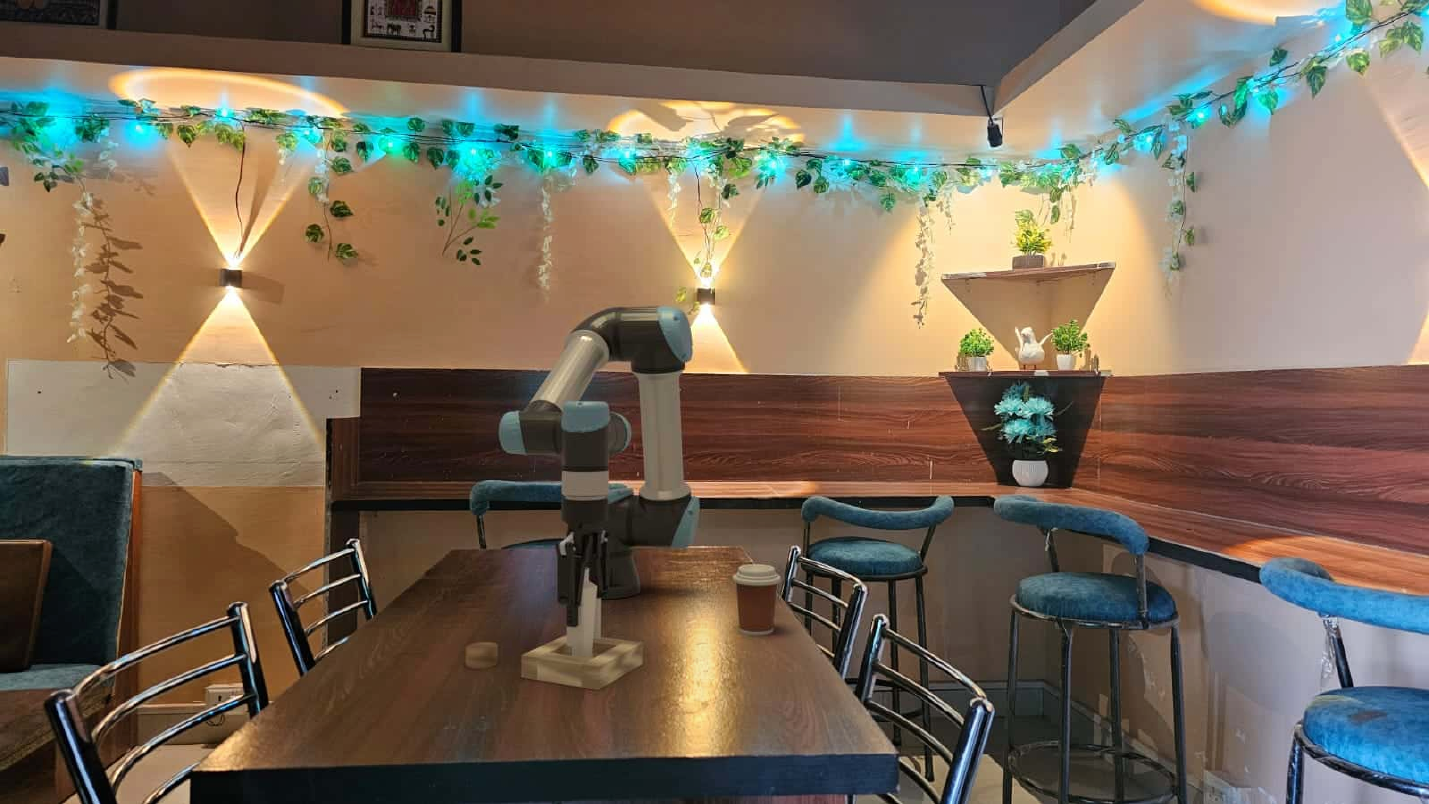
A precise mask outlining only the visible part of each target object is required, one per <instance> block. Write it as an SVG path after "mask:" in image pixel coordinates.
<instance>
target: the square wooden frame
mask: <svg viewBox="0 0 1429 804" xmlns="http://www.w3.org/2000/svg"><path fill="white" fill-rule="evenodd" d="M643 648H644V643H643V642H641V641H633V640H625V639H619V638H618V639H617V638H612V637H604V636H601V638H600V639H593V646H592V655H593V659H590V658H583V657H576V656H572V647H571V646H567V634H565V635H562V636H561V637H559V638H557V639H556V638H555V640H551V641H550V642H547V643H545V644H543V645H541V646H539V647H537V648H534V649H532V650H530V651H527V652H525V653H523V654H521V656H520V657H521V662H520V663H521V665H520V667H521V668H520V669H521V670H520V674H521V675H520V677H521V679H528V680H533V681H540V682H547V683H552V684H557V685H558V684H559V685H564V686H565V685H566V686H571V687H575V688H577V687H578V688H583V689H590V690H596V691H599V690H601V689H603V688H605V687H606V686H608V685H610V684H612V683H613V682H615V681H617V680H619V678H622V677H623V676H625V675H626V674H628V673H630V672H632V671H633V670H635V669H637V668H638V667H640V666H642V665H643V662H644V657H643V656H644V651H643V650H644V649H643Z"/></svg>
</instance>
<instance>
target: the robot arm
mask: <svg viewBox="0 0 1429 804" xmlns="http://www.w3.org/2000/svg"><path fill="white" fill-rule="evenodd" d="M693 343H694V342H693V335H692V329H691V325H690V320H689V318H688V316H687V315H686V312H684V310H683V309H682V308H680V307H677V306H665V305H655V306H653V305H652V306H649V305H647V306H626V307H625V306H623V307H622V306H614V307H609V308H605V309H602V310H600V311H598V312H595V313H593V314H592V315H590V316H588V317H587V318H585V319H584V320H583V321H581V322H580V323H578V324H577V325H576V327H575V328H573V329H572V330H571V332H570V333H569V335H568V336H567V338H566V339H565V341H564V343H563V344H564V345H563V349H564V350H563V352H562V354H561V355H560V357H559V358H558V360H557V362H556V363H555V364H554V366H553V368H552V369H551V370H550V372H549V374H548V375H547V377H546V378H545V379H544V381H543V383H542V384H541V385H540V386H539V388H538V390H537V391H536V393H535V394H534V396H533V397H532V399H531V401H530V402H529V403H528V405H527V406H526V407H525V409H524V410H523V411H520V410H516V411H508V412H506V413H504V414H503V416H502V417H501V420H500V421H499V426H498V438H499V442H500V445H501V448H502V450H504V451H505V452H506V453H507V454H516V455H524V456H537V455H538V456H542V455H543V456H545V455H546V456H549V455H550V456H561V494H562V495H563V496H565V497H564V498H562V500H561V501H560V502H561V504H560V505H561V509H560V513H561V516H560V518H561V521H562V522H563V523H566V524H567V529H566V533H565V538H564V539H563V540H561V541H559V540H558V541H556V542H555V545H554V547H555V551H556V557H557V558H556V559H557V560H556V561H557V567H556V568H557V593H556V594H557V600H556V601H557V603H558V604H559V605H561V606H566V607H565V608H566V614H565V616H566V635H567V646H571V647H578V648H582V647H584V605H581V599H582V591H583V583H584V575H585V567H588V568H589V581H590V582H592V583H593V584H595V585H596V586H597V594H596V607H595V620H594V633H593V639H600V638H601V637H602V635H601V634H602V633H601V632H602V629H601V627H602V625H601V624H602V622H601V621H602V600H613V599H624V598H629V597H633V596H636V595H638V594H640V593H641V579H640V577H639V574H638V570H637V567H636V564H635V560H634V550H633V549H634V548H651V549H653V548H654V549H669V550H674V549H687V548H689V547H690V546H691V545H692V544H693V542H694V540H695V537H696V534H697V530H698V525H699V518H700V511H701V510H700V507H701V506H700V505H701V504H700V498H699V497H697V496H696V495H692V489H691V488H692V487H691V486H690V485H689V484H688V483H687V482H686V481H685V480H684V461H683V442H682V441H683V439H682V438H683V437H682V417H681V398H680V375H682V374H683V372H684V371H685V370H686V364H687V363H689V362H690V361H691V360H692V358H693V354H694V353H693V352H694V349H693V347H694V344H693ZM613 362H621V363H622V362H623V363H624V362H625V363H629V362H630V372H631V373H632V374H633V375H634V376H635V377H636V378H637V379H638V387H639V390H638V391H639V402H640V405H639V406H640V418H641V419H640V421H641V422H640V423H641V437H642V450H643V451H642V452H643V454H642V455H643V469H644V470H643V471H644V483H643V485H641V486H640V488H639V489H638V494H635V491H634V488H631V487H624V488H623V487H622V488H613V489H610V486H609V485H610V479H609V478H610V477H609V476H610V474H609V469H610V468H609V465H610V464H609V463H610V457H613V456H615V455H618V454H619V453H621V452H623V451H624V450H626V449H627V447H629V444H630V442H631V440H632V428H631V425H630V422H629V421H628V420H627V418H626V417H624V416H623V415H621V414H620V413H617V412H614V411H610V407H609V404H608V403H607V402H605V401H587V400H586V401H585V400H584V401H583V400H582V401H580V399H581V398H582V396H583V394H584V392H585V391H586V389H587V388H588V386H589V385H590V383H591V381H592V379H593V377H594V375H595V374H596V372H597V371H599V370H602V369H603V368H604V367H605V366H606V364H608V363H613Z"/></svg>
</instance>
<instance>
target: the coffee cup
mask: <svg viewBox="0 0 1429 804" xmlns="http://www.w3.org/2000/svg"><path fill="white" fill-rule="evenodd" d="M732 581H733V582H734V583H735V586H736V599H737V615H738V616H737V617H738V629H739V630H738V631H739V632H740V633H741V634H744V635H747V636H766V635H767V636H768V635H770V634H773V632H774V626H775V625H774V624H775V611H776V602H777V589H778V584H779V583H781V581H782V578H781V576H780V575H779V574H778V573H777V572H776V567H774V566H773V565H768V564H759V563H758V564H757V563H756V564H755V563H753V564H749V563H748V564H743V565H740V566H739V567H738V568H737V572H736V573H735V574H734V575H732Z"/></svg>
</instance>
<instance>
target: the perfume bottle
mask: <svg viewBox="0 0 1429 804" xmlns="http://www.w3.org/2000/svg"><path fill="white" fill-rule="evenodd" d="M596 594H597V586H596V585H595V584H593V583H592V582H590V581H589V568H588V567H585V575H584V583H583V591H582V599H581V605H584V647H582V648H578V647H572V656H576V657H583V658H590V659H593V655H592V646H593V633H594V620H595V607H596Z"/></svg>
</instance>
